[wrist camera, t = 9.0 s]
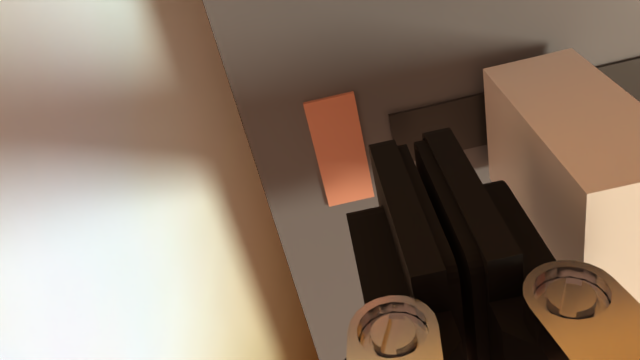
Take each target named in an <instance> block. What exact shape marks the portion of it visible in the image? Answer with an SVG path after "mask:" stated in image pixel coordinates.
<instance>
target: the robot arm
mask: <svg viewBox="0 0 640 360" xmlns="http://www.w3.org/2000/svg"><path fill="white" fill-rule="evenodd" d="M368 147H369V154H370V159H371V165H372V170H373V176H374V181H375V187H376V192H377V197H378V203H379V207H374V208H369V209H365V210H360V211H355V212H351V213H346V216H347V221H348V226H349V231H350V236H351V240H352V245H353V250H354V255H355V260H356V265H357V270H358V274H359V279H360V284H361V289H362V294H363V299H364V304H365V305H364V306H362V307H361V308H360V309H359V310H358V311H357V312H356V313H355V314H354V316H353V317H352V319H351V321H350V323H349V327H348V332H347V357H346V358H345V359H344V360H640V303H639V302H638V301H637V300H636V299H635V298H634V297H633V296H632V295H631V294H630V293H629V292H628V291H627V290H625V289H624V288H623V287H622V286H621V285H620V284H619V283H618V282H617V281H616V280H615V279H614V278H613V277H612V276H611V275H609V274H608V273H607V272H605V271H604V270H603V269H601V268H598V267H596V266H594V265H591V264H589V263H585V262H580V261H575V260H558V261H556V259H555V258H554V256H553V255H552V253H551V252H550V250H549V248H548V247H547V245H546V244H545V242H544V241H543V239H542V238H541V236H540V234H539V233H538V231H537V230H536V228H535V227H534V225H533V224H532V222H531V220H530V219H529V217H528V216H527V214H526V213H525V211H524V210H523V208H522V206H521V205H520V203H519V202H518V200H517V199H516V197H515V196H514V194H513V192H512V191H511V189H510V188H509V186H508V185H507V184H506V182H505V181H503V180H499V181H495V182H490V183H486V184H482V182H481V180H480V178H479V177H478V175H477V173H476V171H475V170H474V168H473V166H472V165H471V163H470V161H469V159H468V158H467V156H466V154H465V153H464V151H463V149H462V147H461V146H460V144H459V142H458V140H457V139H456V137H455V135H454V134H453V132H452V130H451V129H450V127H447V128H443V129H438V130H434V131H429V132H425V133H422V140H421V141H416V142H414V154H415V161H416V165H415V163H414V161H413V158H412V156H411V154H410V151H409V149H408V146H407V144H403V145H398V146H397V144H396V141H395V140H394V139H393V140H388V141H384V142H379V143H375V144H370V145H368Z"/></svg>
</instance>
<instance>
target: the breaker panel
mask: <svg viewBox="0 0 640 360" xmlns="http://www.w3.org/2000/svg"><path fill="white" fill-rule="evenodd" d="M202 1H203V4H204V7H205V10H206V13H207V16H208V19H209V22H210V25H211V28H212V31H213V35H214V38H215V41H216V44H217V47H218V50H219V53H220V56H221V59H222V62H223V65H224V68H225V71H226V75H227V78H228V81H229V84H230V87H231V90H232V93H233V96H234V99H235V102H236V105H237V108H238V111H239V115H240V118H241V121H242V124H243V127H244V130H245V133H246V136H247V139H248V142H249V145H250V148H251V151H252V155H253V158H254V161H255V164H256V167H257V170H258V173H259V176H260V179H261V182H262V185H263V188H264V191H265V195H266V198H267V201H268V204H269V207H270V210H271V213H272V216H273V219H274V222H275V225H276V228H277V231H278V235H279V238H280V241H281V244H282V247H283V250H284V253H285V256H286V259H287V262H288V265H289V268H290V271H291V275H292V278H293V281H294V284H295V287H296V290H297V293H298V296H299V299H300V302H301V305H302V308H303V311H304V315H305V318H306V321H307V324H308V327H309V330H310V333H311V336H312V339H313V342H314V345H315V348H316V351H317V355H318V358H319V360H344V359H345V358H346V357H347V332H348V327H349V323H350V321H351V319H352V317H353V316H354V314H355V313H356V312H357V311H358V310H359V309H360V308H361V307H362V306H364V305H365V304H364V299H363V294H362V289H361V284H360V279H359V274H358V270H357V265H356V260H355V255H354V250H353V245H352V240H351V236H350V231H349V226H348V221H347V216H346V213H351V212H355V211H360V210H365V209H369V208H374V207H379V203H378V197H377V192H376V187H375V181H374V176H373V170H372V165H371V159H370V154H369V147H368V145H370V144H375V143H379V142H384V141H388V140H393V139H394V140H395V141H396V144H397V146H398V145H403V144H407V146H408V149H409V151H410V154H411V156H412V158H413V161H414V163H415V165H416V161H415V154H414V142H416V141H421V140H422V133H425V132H429V131H434V130H438V129H443V128H447V127H450V129H451V130H452V132H453V134H454V135H455V137H456V139H457V140H458V142H459V144H460V146H461V147H462V149H463V151H464V153H465V154H466V156H467V158H468V159H469V161H470V163H471V165H472V166H473V168H474V170H475V171H476V173H477V175H478V177H479V178H480V180H481V182H482V184H486V183H490V182H492V181H491V179H490V176H489V160H488V144H487V128H486V112H485V96H484V80H483V69H484V68H488V67H493V66H497V65H501V64H506V63H510V62H514V61H518V60H523V59H527V58H531V57H536V56H540V55H544V54H549V53H553V52H557V51H562V50H566V49H570V48H572V49H573V50H575V51H576V52H577V53H578V54H580V55H581V56H582V57H583V58H585V59H586V60H587V61H588V62H590V63H591V64H592V65H594V66H595V67H596V68H597V69H599V70H600V71H601V72H602V73H604V74H605V75H606V76H607V77H609V78H610V79H611V80H612V81H614V82H615V83H616V84H618V85H619V86H620V87H621V88H623V89H624V90H625V91H626V92H628V93H629V94H630V95H631V96H633V97H634V98H635V99H636V100H638V101H639V102H640V0H202Z"/></svg>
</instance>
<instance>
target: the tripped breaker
mask: <svg viewBox="0 0 640 360" xmlns="http://www.w3.org/2000/svg"><path fill="white" fill-rule="evenodd" d="M483 80H484V96H485V112H486V128H487V144H488V160H489V176H490V179H491V181H492V182H495V181H499V180H503V181H505V182H506V184H507V185H508V186H509V188H510V189H511V191H512V192H513V194H514V196H515V197H516V199H517V200H518V202H519V203H520V205H521V206H522V208H523V210H524V211H525V213H526V214H527V216H528V217H529V219H530V220H531V222H532V224H533V225H534V227H535V228H536V230H537V231H538V233H539V234H540V236H541V238H542V239H543V241H544V242H545V244H546V245H547V247H548V248H549V250H550V252H551V253H552V255H553V256H554V258H555V259H556V261H558V260H575V261H580V262H585V263H589V264H591V265H594V266H596V267H598V268H601V269H603V270H604V271H605V272H607V273H608V274H609V275H611V276H612V277H613V278H614V279H615V280H616V281H617V282H618V283H619V284H620V285H621V286H622V287H623V288H624V289H625V290H627V291H628V292H629V293H630V294H631V295H632V296H633V297H634V298H635V299H636V300H637V301H638V302H639V303H640V102H639V101H638V100H636V99H635V98H634V97H633V96H631V95H630V94H629V93H628V92H626V91H625V90H624V89H623V88H621V87H620V86H619V85H618V84H616V83H615V82H614V81H612V80H611V79H610V78H609V77H607V76H606V75H605V74H604V73H602V72H601V71H600V70H599V69H597V68H596V67H595V66H594V65H592V64H591V63H590V62H588V61H587V60H586V59H585V58H583V57H582V56H581V55H580V54H578V53H577V52H576V51H575V50H573V49H572V48H570V49H566V50H562V51H557V52H553V53H549V54H544V55H540V56H536V57H531V58H527V59H523V60H518V61H514V62H510V63H506V64H501V65H497V66H493V67H488V68H484V69H483Z"/></svg>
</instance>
